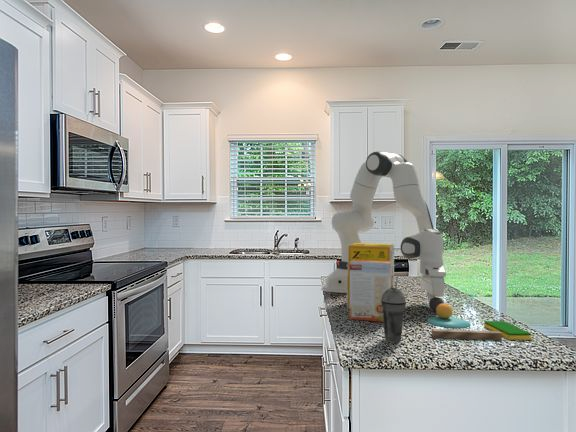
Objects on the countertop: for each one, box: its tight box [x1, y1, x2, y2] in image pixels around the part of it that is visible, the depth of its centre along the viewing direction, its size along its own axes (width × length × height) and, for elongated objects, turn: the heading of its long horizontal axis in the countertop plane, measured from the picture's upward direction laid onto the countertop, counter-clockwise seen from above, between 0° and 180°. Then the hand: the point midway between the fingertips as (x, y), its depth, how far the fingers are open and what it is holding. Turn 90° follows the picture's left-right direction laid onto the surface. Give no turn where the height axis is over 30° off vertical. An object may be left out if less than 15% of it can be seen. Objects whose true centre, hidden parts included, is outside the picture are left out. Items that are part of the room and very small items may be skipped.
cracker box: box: [349, 260, 391, 323], centre depth 142 cm, size 14×6×21 cm, turn 71°
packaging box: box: [346, 242, 395, 309], centre depth 163 cm, size 16×16×25 cm
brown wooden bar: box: [431, 328, 503, 341], centre depth 122 cm, size 20×2×2 cm, turn 85°
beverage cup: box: [381, 273, 407, 344], centre depth 119 cm, size 7×7×20 cm
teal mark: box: [426, 316, 471, 329], centre depth 139 cm, size 14×14×1 cm
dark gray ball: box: [428, 297, 445, 312], centre depth 154 cm, size 6×6×6 cm
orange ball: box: [435, 302, 453, 319], centre depth 144 cm, size 6×6×6 cm
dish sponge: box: [484, 320, 532, 341], centre depth 128 cm, size 7×14×2 cm, turn 4°
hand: (431, 303), depth 161 cm, fingers closed
